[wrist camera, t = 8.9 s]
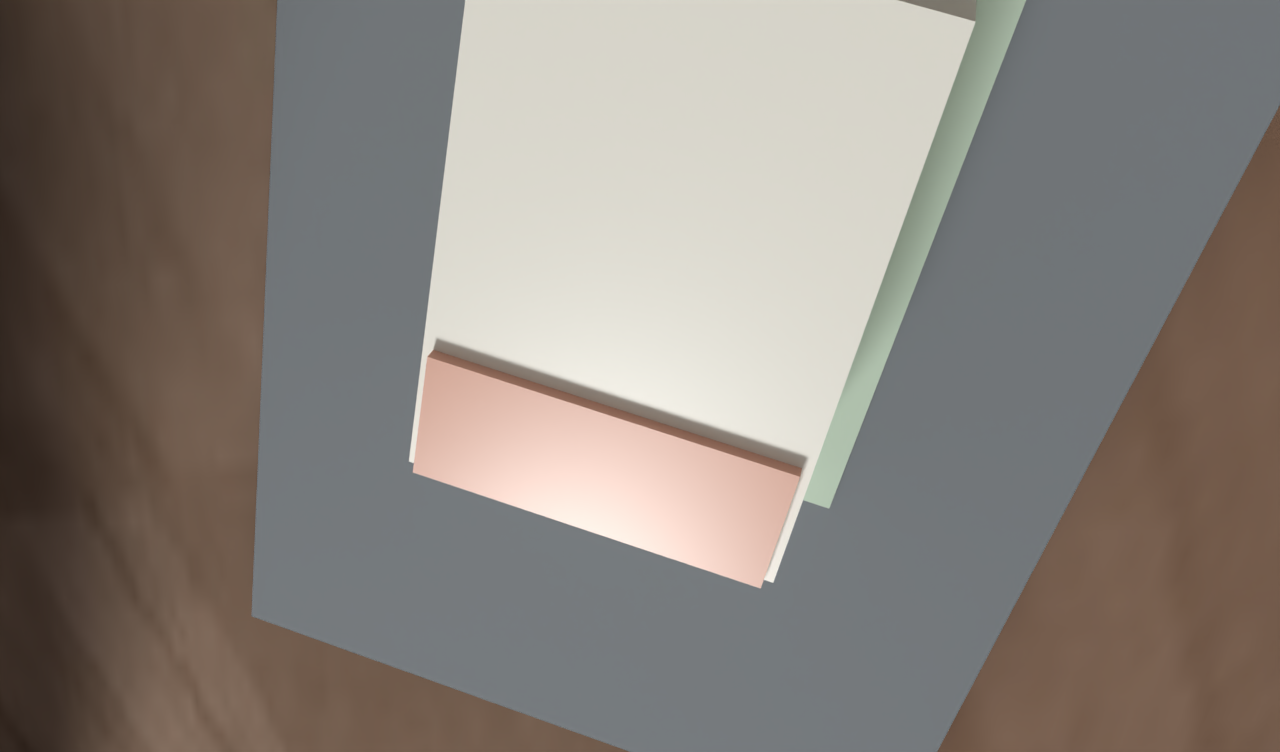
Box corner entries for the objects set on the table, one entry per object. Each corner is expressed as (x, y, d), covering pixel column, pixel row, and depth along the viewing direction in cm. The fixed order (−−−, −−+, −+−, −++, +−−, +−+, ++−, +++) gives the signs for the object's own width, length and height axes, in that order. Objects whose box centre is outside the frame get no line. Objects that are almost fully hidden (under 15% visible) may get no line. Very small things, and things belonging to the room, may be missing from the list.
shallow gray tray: (889, 824, 24) (887, 848, 24) (264, 600, 25) (249, 619, 25) (1362, -80, 14) (1375, -72, 14) (311, -358, 16) (288, -360, 15)
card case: (574, -151, 16) (472, -112, 13) (977, -43, 15) (976, 26, 12) (493, 348, 20) (403, 469, 17) (805, 448, 19) (770, 591, 16)
